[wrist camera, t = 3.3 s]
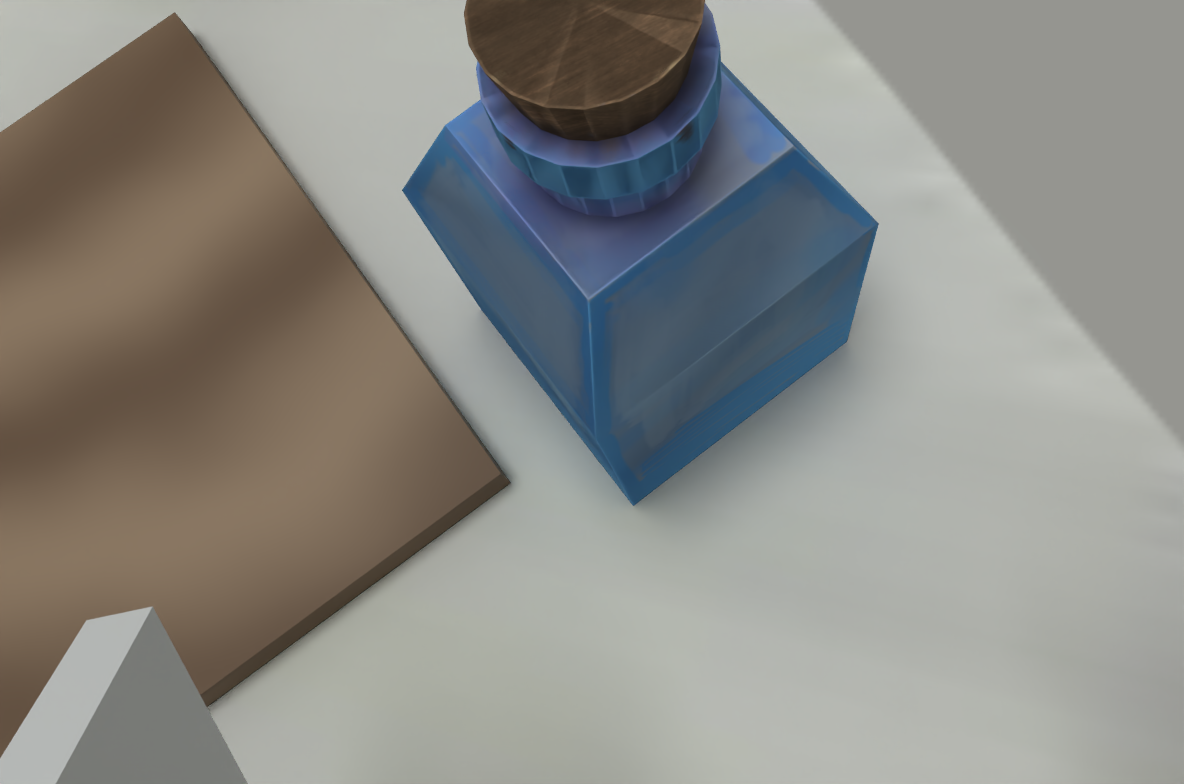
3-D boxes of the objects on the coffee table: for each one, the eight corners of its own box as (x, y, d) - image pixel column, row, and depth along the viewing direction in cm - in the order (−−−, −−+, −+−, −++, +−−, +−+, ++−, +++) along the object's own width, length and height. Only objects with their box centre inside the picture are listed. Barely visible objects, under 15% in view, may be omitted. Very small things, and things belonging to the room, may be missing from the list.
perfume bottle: (680, 160, 26) (629, -265, 15) (846, 341, 24) (935, 14, 13) (480, 309, 26) (269, -10, 14) (633, 506, 24) (528, 318, 12)
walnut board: (-234, 330, 28) (-268, 317, 28) (193, 35, 29) (174, 12, 28) (3, 857, 23) (-29, 863, 22) (510, 482, 24) (500, 473, 23)
